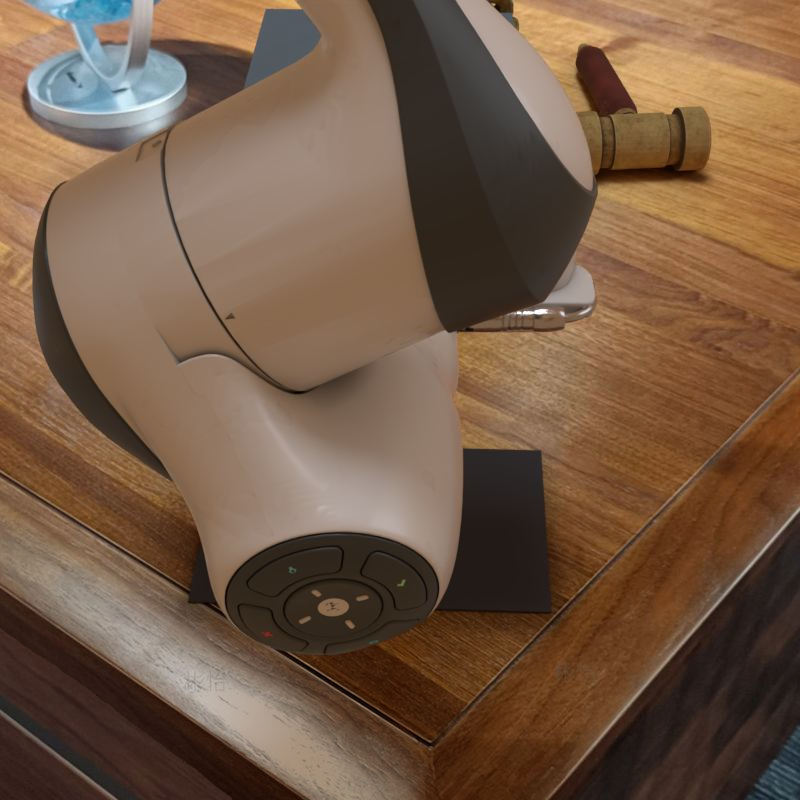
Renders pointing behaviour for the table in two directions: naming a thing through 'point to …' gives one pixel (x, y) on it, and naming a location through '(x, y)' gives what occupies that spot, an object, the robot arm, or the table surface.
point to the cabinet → (286, 42)
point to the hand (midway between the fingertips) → (360, 166)
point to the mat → (484, 538)
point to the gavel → (637, 124)
